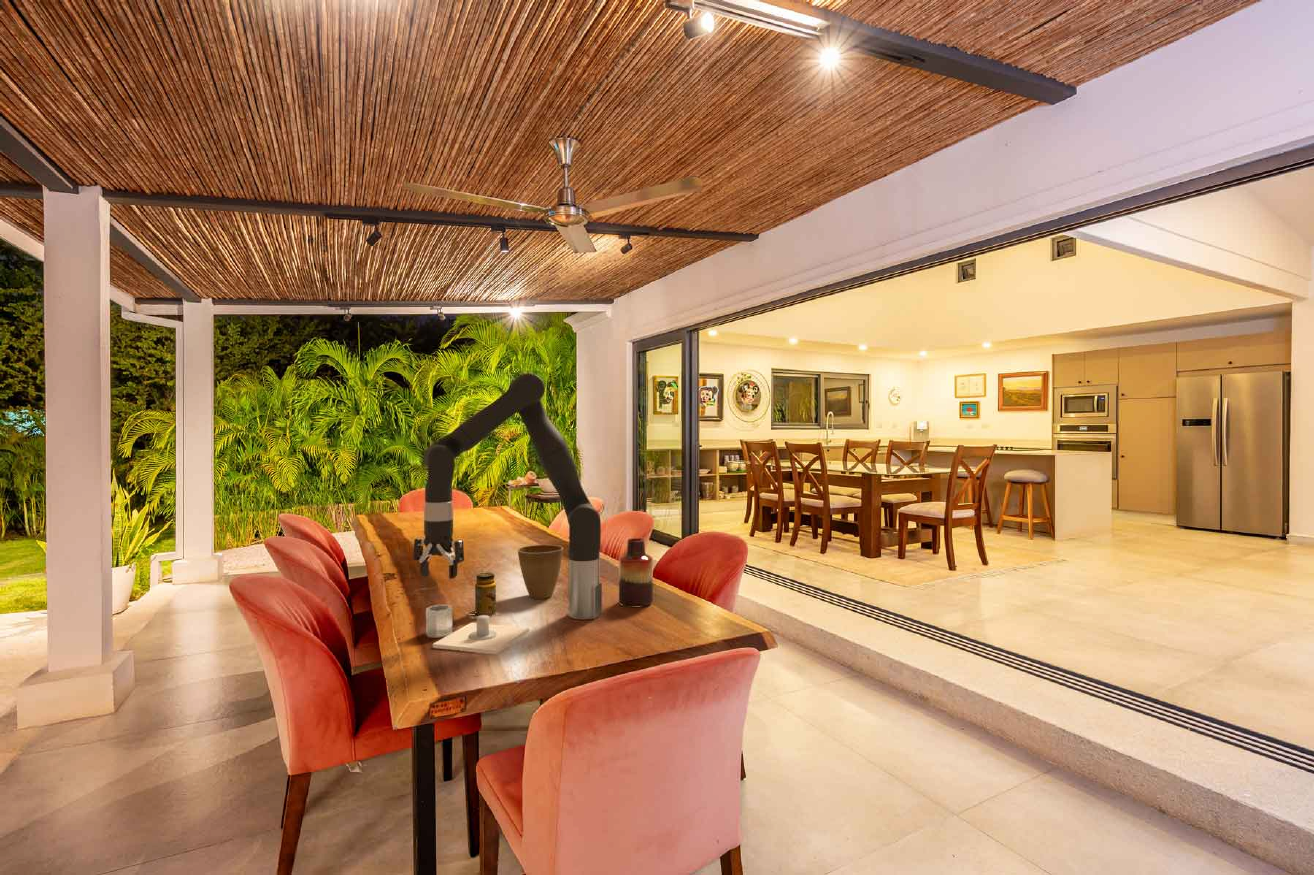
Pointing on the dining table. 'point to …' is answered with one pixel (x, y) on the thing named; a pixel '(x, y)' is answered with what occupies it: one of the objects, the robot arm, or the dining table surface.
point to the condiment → (484, 596)
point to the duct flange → (481, 637)
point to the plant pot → (540, 568)
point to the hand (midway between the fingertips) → (438, 577)
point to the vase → (635, 575)
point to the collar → (438, 621)
